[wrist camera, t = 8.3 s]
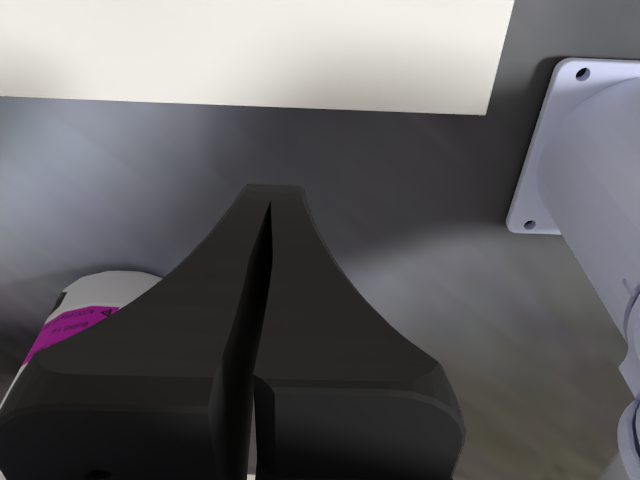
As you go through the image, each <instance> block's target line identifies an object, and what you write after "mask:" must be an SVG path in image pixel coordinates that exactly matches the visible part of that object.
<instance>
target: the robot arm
mask: <svg viewBox="0 0 640 480" xmlns="http://www.w3.org/2000/svg"><path fill="white" fill-rule="evenodd" d="M582 68H586V72H585V73H584V75H582V76H581V77H578V78H576V74H577V72H578V71H579V70H580V69H582ZM531 220H532V222H531V223H530V224H527V225H524V224H525V223H526V222H528V221H531ZM506 225H507V227H508V229H509V230H510V231H511V232H514V233H532V234H562V236H563V237H564V239H565V241H566V242H567V244H568V246H569V247H570V249H571V251H572V252H573V254H574V256H575V257H576V259H577V261H578V262H579V264H580V266H581V267H582V269H583V271H584V272H585V274H586V276H587V277H588V279H589V281H590V282H591V284H592V286H593V287H594V289H595V291H596V292H597V294H598V296H599V297H600V299H601V301H602V302H603V304H604V306H605V307H606V309H607V311H608V312H609V314H610V316H611V317H612V319H613V321H614V322H615V324H616V326H617V327H618V329H619V330H620V332H621V334H622V335H623V337H624V339H625V340H626V342H627V344H628V353H627V356H626V358H625V360H624V361H623V362H622V364H621V365H620V366H619V370H620V372H621V374H622V375H623V377H624V379H625V381H626V383H627V384H628V386H629V388H630V390H631V391H632V393H633V395H634V397H635V400H634V401H633V402H632V403H631V404H630V405H629V406H627V407H626V409H625V410H624V412H623V414H622V416H621V418H620V420H619V425H618V430H617V433H618V446H619V451H620V456H621V459H622V462H623V464H624V467H625V470H626V472H627V475H628V477H629V479H630V480H640V61H637V60H614V59H590V58H565V59H564V60H562V61H560V62H559V63H558V64H557V65H556V67H555V68H554V71H553V74H552V77H551V80H550V83H549V86H548V89H547V93H546V96H545V99H544V102H543V105H542V108H541V111H540V115H539V118H538V121H537V124H536V127H535V130H534V134H533V137H532V140H531V143H530V146H529V149H528V152H527V156H526V159H525V162H524V165H523V168H522V171H521V175H520V178H519V181H518V184H517V187H516V190H515V193H514V197H513V200H512V203H511V206H510V209H509V212H508V216H507V219H506ZM253 398H254V405H255V424H256V444H257V466H256V477H255V480H453V479H452V476H453V473H454V470H455V468H456V465H457V462H458V460H459V457H460V454H461V452H462V449H463V446H464V443H465V436H466V429H465V425H464V420H463V416H462V413H461V409H460V407H459V404H458V401H457V399H456V396H455V394H454V392H453V389H452V387H451V384H450V382H449V380H448V378H447V376H446V374H445V372H444V370H443V368H442V366H441V364H440V363H439V362H438V361H436V360H435V359H433V358H432V357H431V356H429V355H428V354H427V353H425V352H424V351H422V350H421V349H420V348H418V347H417V346H415V345H414V344H413V343H411V342H410V341H409V340H407V339H406V338H405V337H403V336H402V335H401V334H400V333H399V332H398V331H396V330H395V329H394V328H393V327H392V326H391V325H390V324H389V323H388V322H387V321H386V320H385V319H384V318H383V317H382V316H381V315H380V314H379V313H378V312H377V311H376V310H375V309H374V308H373V307H372V306H371V305H370V304H369V303H368V302H367V301H366V300H365V299H364V298H363V296H362V295H361V294H360V293H359V292H358V291H357V289H356V288H355V287H354V286H353V284H352V283H351V282H350V281H349V279H348V278H347V277H346V275H345V274H344V272H343V271H342V270H341V268H340V267H339V265H338V264H337V262H336V261H335V259H334V257H333V256H332V254H331V253H330V251H329V249H328V247H327V246H326V244H325V242H324V240H323V238H322V236H321V234H320V232H319V230H318V228H317V226H316V224H315V222H314V220H313V218H312V215H311V212H310V210H309V207H308V204H307V201H306V196H305V190H304V189H303V188H302V187H301V186H285V185H256V184H247V185H246V186H245V187H244V188H243V189H242V190H241V192H240V194H239V195H238V197H237V198H236V200H235V201H234V203H233V204H232V205H231V207H230V208H229V209H228V211H227V212H226V213H225V215H224V216H223V217H222V219H221V220H220V221H219V222H218V223H217V225H216V226H215V227H214V228H213V230H212V231H211V232H210V233H209V234H208V235H207V237H206V238H205V239H204V240H203V241H202V242H201V243H200V244H199V245H198V246H197V247H196V248H195V249H194V250H193V251H192V252H191V254H190V255H189V256H188V257H187V258H185V259H184V260H183V261H182V262H181V263H180V264H179V265H178V266H177V267H176V268H175V269H174V270H172V271H171V272H170V273H169V274H168V275H167V276H165V277H164V278H163V279H162V280H161V281H159V282H158V283H157V284H155V285H154V286H153V287H151V288H150V289H149V290H147V291H146V292H144V293H143V294H142V295H140V296H139V297H137V298H136V299H135V300H133V301H132V302H130V303H129V304H127V305H126V306H124V307H122V308H121V309H119V310H118V311H116V312H114V313H113V314H111V315H109V316H108V317H106V318H104V319H102V320H101V321H99V322H97V323H95V324H94V325H92V326H90V327H88V328H86V329H84V330H82V331H80V332H78V333H76V334H74V335H72V336H70V337H68V338H66V339H64V340H62V341H60V342H57V343H55V344H53V345H51V346H49V347H47V348H45V349H43V350H40V351H38V352H36V353H34V355H33V356H32V358H31V359H30V361H29V362H28V364H27V365H26V367H25V368H24V369H23V371H22V372H21V374H20V375H19V377H18V378H17V380H16V382H15V383H14V385H13V387H12V388H11V390H10V392H9V394H8V396H7V398H6V400H5V401H4V403H3V405H2V407H1V409H0V470H1V472H2V474H3V475H4V477H5V478H6V480H247V470H248V457H249V445H250V433H251V421H252V409H253Z"/></svg>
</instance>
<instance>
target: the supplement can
mask: <svg viewBox="0 0 640 480" xmlns="http://www.w3.org/2000/svg"><path fill="white" fill-rule="evenodd" d="M162 279H163V278H161V277H158V276H154V275H151V274H148V273H145V272H138V271H120V270H117V271H105V272H101V273H97V274H92V275H88V276H84V277H81V278H80V279H78V280H77V281H75V282H74V283H72V284H71V285H69V286H68V287H66V288H65V289H63V291H62V293H61V294H60V296H59V298H58V300H57V302H56V304H55V305H54V307H53V309H52V311H51V313H50V315H49V316H48V318H47V320H46V322H45V324H44V326H43V328H42V329H41V331H40V333H39V335H38V337H37V339H36V340H35V342H34V344H33V346H32V348H31V350H30V351H29V353H28V355H27V357H26V359H25V361H24V362H23V364H22V366H21V368H20V370H19V372H18V373H17V375H16V377H15V379H14V381H13V383H12V384H11V386H10V388H9V390H8V392H7V394H6V395H5V397H4V399H3V401H2V403H1V405H0V409H1V407H2V405H3V403H4V401H5V400H6V398H7V396H8V394H9V392H10V390H11V388H12V387H13V385H14V383H15V382H16V380H17V378H18V377H19V375H20V374H21V372H22V371H23V369H24V368H25V367H26V365H27V364H28V362H29V361H30V359H31V358H32V356H33V355H34V353H36V352H38V351H40V350H43V349H45V348H47V347H49V346H51V345H53V344H55V343H57V342H60V341H62V340H64V339H66V338H68V337H70V336H72V335H74V334H76V333H78V332H80V331H82V330H84V329H86V328H88V327H90V326H92V325H94V324H95V323H97V322H99V321H101V320H102V319H104V318H106V317H108V316H109V315H111V314H113V313H114V312H116V311H118V310H119V309H121V308H122V307H124V306H126V305H127V304H129V303H130V302H132V301H133V300H135V299H136V298H137V297H139V296H140V295H142V294H143V293H144V292H146V291H147V290H149V289H150V288H151V287H153V286H154V285H155V284H157V283H158V282H159V281H161V280H162ZM0 480H6V478H5V477H4V475H3V474H2V472H1V470H0Z"/></svg>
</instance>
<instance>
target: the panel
mask: <svg viewBox="0 0 640 480" xmlns="http://www.w3.org/2000/svg"><path fill="white" fill-rule="evenodd" d="M513 4H514V0H0V96H10V97H36V98H61V99H86V100H112V101H137V102H162V103H188V104H213V105H239V106H264V107H289V108H315V109H340V110H365V111H391V112H416V113H441V114H467V115H486V111H487V107H488V103H489V99H490V95H491V91H492V87H493V83H494V79H495V75H496V71H497V67H498V63H499V59H500V55H501V51H502V47H503V43H504V40H505V36H506V32H507V28H508V24H509V20H510V16H511V12H512V8H513Z"/></svg>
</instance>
